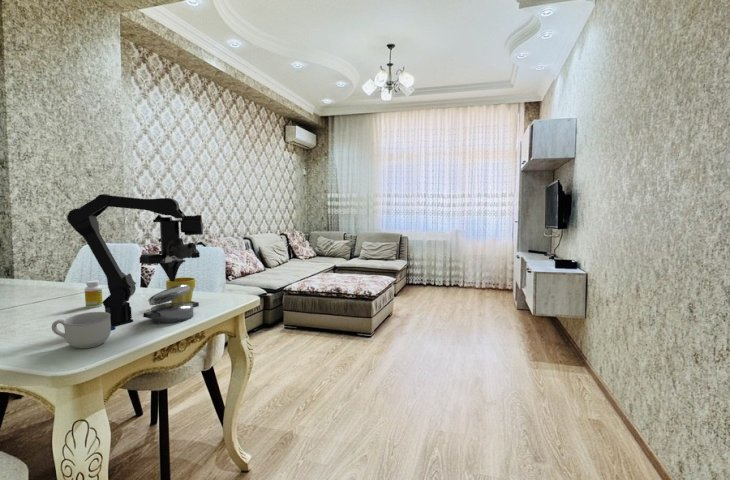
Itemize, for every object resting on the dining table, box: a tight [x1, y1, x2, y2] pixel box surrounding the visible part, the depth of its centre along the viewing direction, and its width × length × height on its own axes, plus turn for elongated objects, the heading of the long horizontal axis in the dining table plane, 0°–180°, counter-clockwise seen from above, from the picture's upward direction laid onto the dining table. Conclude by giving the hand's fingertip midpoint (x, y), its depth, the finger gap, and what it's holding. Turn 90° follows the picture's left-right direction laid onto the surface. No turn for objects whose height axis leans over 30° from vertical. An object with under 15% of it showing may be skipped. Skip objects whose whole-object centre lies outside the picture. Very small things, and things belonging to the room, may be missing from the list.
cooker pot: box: [142, 300, 200, 325], centre depth 135 cm, size 18×13×4 cm
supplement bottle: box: [84, 279, 104, 309], centre depth 151 cm, size 5×5×10 cm
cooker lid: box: [147, 285, 190, 306], centre depth 135 cm, size 13×13×3 cm
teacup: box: [51, 311, 112, 350], centre depth 109 cm, size 14×11×8 cm
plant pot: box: [165, 276, 196, 302], centre depth 154 cm, size 10×10×10 cm
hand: (172, 281), depth 134 cm, fingers closed
